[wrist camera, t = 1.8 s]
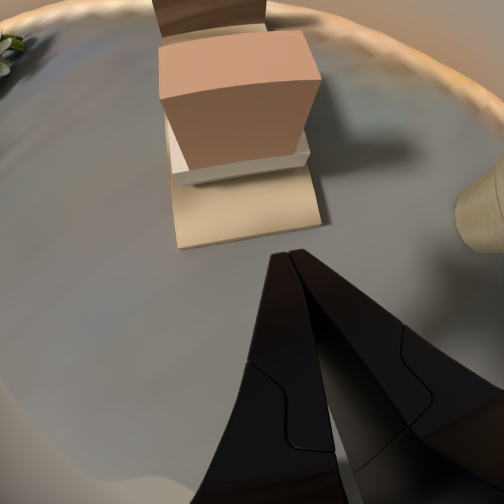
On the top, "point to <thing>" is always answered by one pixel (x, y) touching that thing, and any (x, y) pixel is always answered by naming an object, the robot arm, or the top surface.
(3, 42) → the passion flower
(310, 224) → the tan cardboard slab
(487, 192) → the flower pot
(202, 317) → the top surface
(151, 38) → the top surface
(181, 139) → the brown piece
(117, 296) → the top surface
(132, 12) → the top surface
